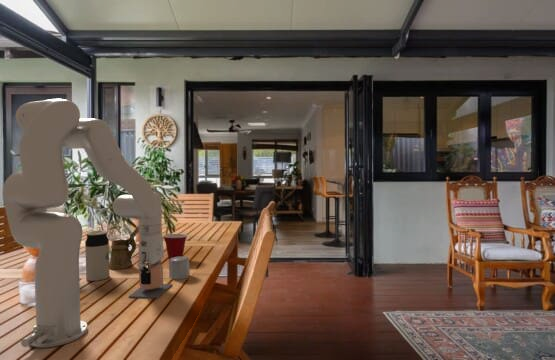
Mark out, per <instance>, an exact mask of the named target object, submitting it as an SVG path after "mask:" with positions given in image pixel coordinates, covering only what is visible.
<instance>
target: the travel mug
mask: <svg viewBox="0 0 555 360" xmlns="http://www.w3.org/2000/svg"><path fill="white" fill-rule="evenodd" d="M107 234H108V230H104V229H101V230H91V231H88V232H87V231H86V233H85V235H86V239H85V241H84V243H85V244H84V245H85V246H84V247H85V249H84V251H85V279H86V280H87V281H89V282H98V281H103V280H105V279H108V278H109V277H110V269H109V264H110V250H109V249H110V246H109V245H110V244H109V243H110V242H109V238H108V235H107Z"/></svg>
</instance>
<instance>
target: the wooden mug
mask: <svg viewBox="0 0 555 360" xmlns="http://www.w3.org/2000/svg"><path fill="white" fill-rule="evenodd" d="M137 234H139V229H138V226H137V227H136V228H135V229H134V230H133V231H132V233H131V234H130V235H129V238H126V239H117V240H112V242H111V246H110V249H111V251H110V257H109V270H112V271H113V270H114V271H115V270H116V271H117V270H118V269H119V270H125V269H128V268H130V267H132V266H133V260H132V256H133V254H134V253H135V251H136V248H137V242H136V240H135V239H134V238H135V237H136V236H137ZM130 246H131V249H130Z"/></svg>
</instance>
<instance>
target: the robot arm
mask: <svg viewBox="0 0 555 360" xmlns="http://www.w3.org/2000/svg"><path fill="white" fill-rule="evenodd" d="M15 120H16V124H17V125H18V127H19V128H20V129H21V130H22V131H23V132H22V135H21V137H20V141H19V146H18V149H19V151H18V152H19V160H20V166H21V168H20V169H21V170H20V171H16V172H14V173H12V174H11V175H9V176H8V177H7V178H6V180H5V182H4V184H3V187H2V200H3V205H4V209H5V214H6V218H7V221H8V227H9V229H10V233H11V235H12V238H13V239H14V241H15V242H16V243H17V244H18V245H20V246H22V247H25V248H30V249H37V250H38V249H39V252H38V255H37V257H36V260H35V264H34V270H33V272H34V273H33V274H34V275H33V276H34V297H35V325H34V326H33V331H32V332H31V334H29V335H27V336H26V337H24V338H22V340H21V341H20V344H21V347H23V348H27V347H28V346H29V347H30V346H32V347H34V348H40V349H41V348H43V349H44V348H45V349H46V348H54V347H60V346H62V345H65V344H69V343H71V342H73V341H75V340H78V339H79V338H81V337H83V335H85V334H86V333H87V332H88V326H89V325H88V323H87V322H86V321H84V320H81V288H80V284H81V283H80V249H81V243H82V239H83V226H82V224H81V221H79V219H78V218H76V217H75V216H74V215H72V214H69V213H65V212H57V211H48V210H49V209H57V208H59V207H61V206H63V205H65V203H67V200H68V199H69V195H70V194H69V192H70V191H69V185H68V179H67V176H66V168H65V163H64V159H63V158H64V157H63V147H64V148H69V149H75V150H76V149H83V150H84V151H85V154H86V155H87V157H88V158H89V160H90V162H91V164H92V166H93V167H94V169H95V171H96V173H97V175H98V176H99V177H100V178H103V179H104V180H106V181H108V182H109V183H111V184H114V185H117V186H119V187H120V188H122V189H123V190H125V191H126V192H127V193H128V194H122V195H119V196H117V197H116V198H115V199H114V201H113V203H112V210H113V212H114V214H115V215H117V217H121V218H125V219H126V218H127V219H138V221H137V223H138V224H137V225H138V226H137V227H138V229H139V232H138V235H139V236H138V237H139V238H138V239H139V240H138V263H137V266H138V267H137V268H138V269H139V270H140V273H141V284H151V272H150V266H151V265H153V264H155V263H161V264H162V261H161V260H162V259H164V257H165V250H164V249H165V248H164V237H163V232H162V231H163V226H162V225H163V224H162V223H163V221H162V219H163V217H162V195H161V194H159V193H156V192H154V190H153V187H152V186H151V183H149V181H148V180H147V179H146V178H145V177H144V176H143V175H142V174H141V173H139V171H137V170H136V169H135V168H134V167H133V166H131V165H130V164H129V163H128V162H127V160H126V159H125V157H124V155H123V152H122V151H121V149H120V147H119V145H118V142H117V140H116V139H115V136H114V135H113V133H112V131H111V129H110V127H109V124H108V123H106V121H104V120H103V119H99V118H93V117H91V118H90V117H89V118H81V113H80V109H79V107H78V106H77V104H75V103H74V102H73V101H71V100H69V99H64V98H63V99H62V98H51V99H44V100H37V101H36V100H35V101H29V102H26V103H23V104H22V105H20V106H19V107H18V108H17V110H16V112H15ZM144 265H148V266H147V268H146V267H145V266H144ZM139 270H138V271H139Z"/></svg>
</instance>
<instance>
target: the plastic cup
mask: <svg viewBox="0 0 555 360" xmlns="http://www.w3.org/2000/svg"><path fill="white" fill-rule="evenodd" d="M187 237H188V234H184V233H169V234H164V235H163V234H162V238H163V240H164V242H165V247H166V252H167V253H166V254H167V256H168V257H167V258H168V262H169V261H170V259H171V258H173V257H180V256H184V251H185V247H186V245H185V244H186V240H187Z"/></svg>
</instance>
